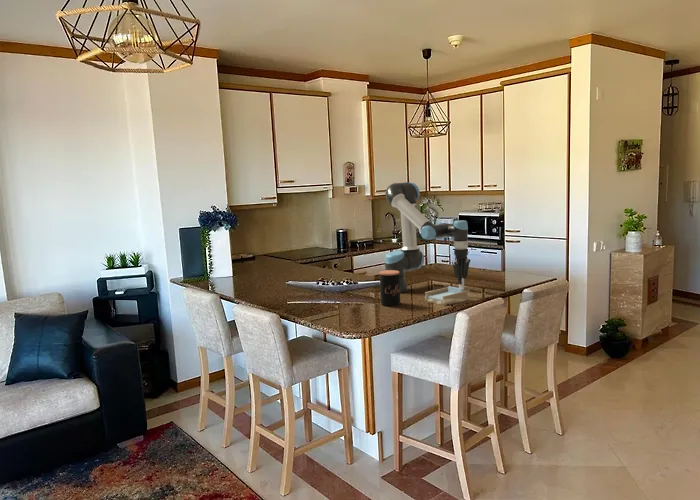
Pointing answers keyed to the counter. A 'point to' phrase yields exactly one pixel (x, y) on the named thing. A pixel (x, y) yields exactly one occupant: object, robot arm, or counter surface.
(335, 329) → the counter surface
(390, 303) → the coffee jar
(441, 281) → the counter surface
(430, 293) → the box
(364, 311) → the counter surface
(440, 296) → the cover plate
